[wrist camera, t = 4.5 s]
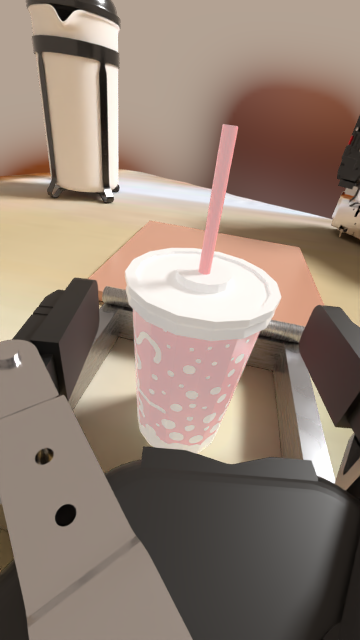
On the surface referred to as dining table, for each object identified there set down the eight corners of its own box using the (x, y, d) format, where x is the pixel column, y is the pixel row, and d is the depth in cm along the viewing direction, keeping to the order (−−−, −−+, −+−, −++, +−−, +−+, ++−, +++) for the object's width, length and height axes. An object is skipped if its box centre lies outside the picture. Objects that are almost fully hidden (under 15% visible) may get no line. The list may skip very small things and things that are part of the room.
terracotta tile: (297, 254, 42) (299, 247, 41) (333, 349, 24) (338, 340, 23) (149, 227, 44) (149, 220, 43) (80, 296, 26) (79, 286, 25)
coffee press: (145, 200, 57) (156, -28, 40) (68, 207, 47) (39, -91, 30) (98, 181, 67) (90, -10, 50) (25, 184, 57) (-16, -54, 40)
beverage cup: (128, 376, 19) (133, 111, 11) (221, 379, 19) (289, 133, 12) (117, 471, 14) (112, 108, 6) (242, 471, 14) (390, 148, 7)
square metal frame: (288, 363, 22) (306, 323, 20) (332, 627, 10) (387, 599, 8) (109, 324, 23) (108, 283, 21) (-29, 519, 12) (-62, 471, 9)
